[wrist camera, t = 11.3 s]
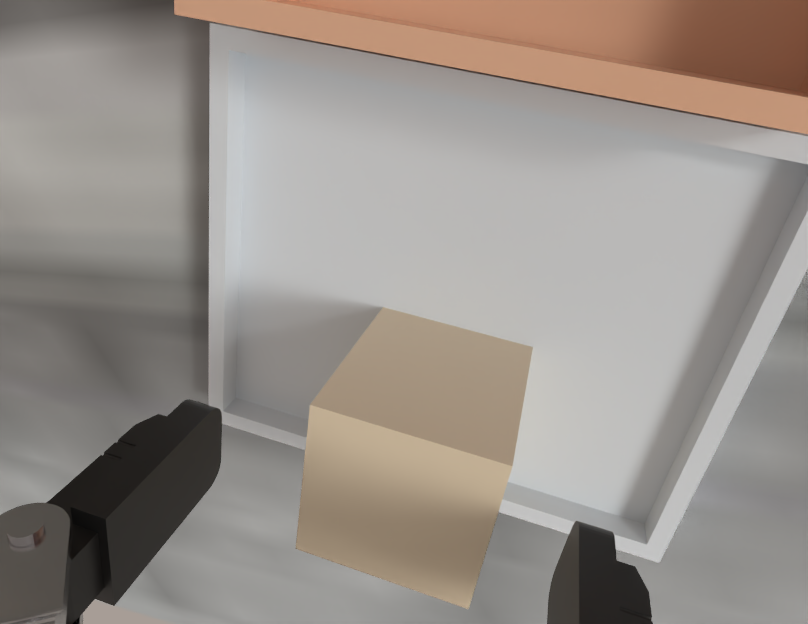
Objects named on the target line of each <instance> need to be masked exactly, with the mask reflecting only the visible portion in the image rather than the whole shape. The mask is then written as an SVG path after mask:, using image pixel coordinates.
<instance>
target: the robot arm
mask: <svg viewBox="0 0 808 624" xmlns="http://www.w3.org/2000/svg"><path fill="white" fill-rule="evenodd" d="M221 436H222V413H221V410H220V409H219V408H216V407H212V406H209V405H206V404H203V403H199V402H196V401H193V400H185V401H184V402H182V403H181V404H180V405H179V406H178V407H177V408H176V409H175V410H174V411H173V412H172V413H170V414H169V415H168V416H167V417H166V416H163V415H160V414H158V415H156V416H153V417H151V418H149V419H147V420H145V421H142V422H140V423H138V424H136V425H135V426H133V427H132V428H131V429H130V430H129V431H128V432H127V433H125V434H124V435H123V436H122V437H121V438H120V439H119V440H118V442H117V443H114V444H113V445H112V446H111V447H110V448H108V449H107V450H106V451H105V452H104V455H103V456H102V455H101V456H99V457H98V458H97V459H96V460H95V461H94V462H93V463H91V464H90V465H89V466H88V467H87V468H86V469H85V470H84V471H82V472H81V473H80V474H79V475H78V476H77V477H76V478H74V479H73V480H72V481H71V482H70V483H69V484H68V485H66V486H65V487H64V488H63V489H62V490H61V491H60V492H59V493H57V494H56V495H55V496H54V497H53V498H52V499H51V500H49V501H48V502H47V503H32V504H27V505H22V506H19V507H16V508H14V509H11V510H9V511H7V512H5V513H3V514H1V515H0V624H83V612H84V611H85V609H86V608H87V607H88V606H89V605H90V604H91V602H92V601H93V600H94V599H97V600H100V601H103V602H105V603H108V604H111V605H113V606H114V605H115V604H116V603H117V602H118V600H119V599H120V598H121V597H122V595H123V594H124V593H125V592H126V591H127V589H128V588H129V587H130V586H131V584H132V583H133V582H134V581H135V579H136V578H137V577H138V576H139V575H140V573H141V572H142V571H143V570H144V568H145V567H146V566H147V565H148V563H149V562H150V561H151V560H152V559H153V557H154V556H155V555H156V554H157V552H158V551H159V550H160V549H161V547H162V546H163V545H164V544H165V543H166V541H167V540H168V539H169V538H170V536H171V535H172V534H173V533H174V531H175V530H176V529H177V528H178V527H179V525H180V524H181V523H182V522H183V520H184V519H185V518H186V517H187V515H188V514H189V513H190V512H191V511H192V509H193V508H194V507H195V506H196V504H197V503H198V502H199V501H200V499H201V498H202V497H203V496H204V495H205V493H206V492H207V491H208V490H209V488H210V487H211V486H212V484H213V482H214V480H215V478H216V476H217V474H218V471H219V468H220V463H221ZM651 617H652V615H651V607H650V599H649V592H648V590H647V588H646V586H645V584H644V582H643V580H642V579H641V577H640V575H639V573H638V571H637V569H636V567H635V566H631V565H628V564H625V563H622V562H619V561H616V548H615V536H614V533H613V532H612V531H609V530H605V529H602V528H599V527H596V526H592V525H589V524H586V523H583V522H580V521H575V523H574V524H573V526H572V529H571V531H570V534H569V536H568V539H567V541H566V544H565V546H564V549H563V551H562V554H561V556H560V559H559V561H558V564H557V566H556V569H555V571H554V575H553V578H552V582H551V587H550V592H549V600H548V618H547V624H653V622H652V621H651Z"/></svg>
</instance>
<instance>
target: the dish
mask: <svg viewBox="0 0 808 624" xmlns="http://www.w3.org/2000/svg"><path fill="white" fill-rule="evenodd" d="M174 13H175V15H180V16H185V17H190V18H196V19H201V20H206V21H212V22H217V23H222V24H227V25H233V26H238V27H243V28H249V29H254V30H259V31H264V32H270V33H275V34H280V35H286V36H291V37H296V38H301V39H307V40H312V41H317V42H323V43H328V44H333V45H338V46H344V47H349V48H354V49H360V50H365V51H370V52H375V53H381V54H386V55H391V56H397V57H402V58H407V59H412V60H418V61H423V62H428V63H434V64H439V65H444V66H449V67H455V68H460V69H465V70H471V71H476V72H481V73H486V74H492V75H497V76H502V77H508V78H513V79H518V80H523V81H529V82H534V83H539V84H545V85H550V86H555V87H560V88H566V89H571V90H576V91H582V92H587V93H592V94H597V95H603V96H608V97H613V98H619V99H624V100H629V101H634V102H640V103H645V104H650V105H656V106H661V107H666V108H671V109H677V110H682V111H687V112H693V113H698V114H703V115H708V116H714V117H719V118H724V119H730V120H735V121H740V122H745V123H751V124H756V125H761V126H767V127H772V128H777V129H782V130H788V131H793V132H798V133H804V134H808V0H174Z"/></svg>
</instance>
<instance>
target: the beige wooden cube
mask: <svg viewBox="0 0 808 624" xmlns="http://www.w3.org/2000/svg"><path fill="white" fill-rule="evenodd" d="M532 350H533V347H531V346H527V345H523V344H519V343H516V342H512V341H508V340H504V339H501V338H497V337H493V336H489V335H486V334H482V333H478V332H475V331H471V330H467V329H463V328H460V327H456V326H452V325H448V324H445V323H441V322H437V321H433V320H430V319H426V318H422V317H418V316H415V315H411V314H407V313H403V312H400V311H396V310H392V309H388V308H385V307H383V308H382V309H381V310H380V312H379V313H378V314H377V316H376V317H375V319H374V320H373V321H372V323H371V324H370V325H369V327H368V328H367V329H366V331H365V332H364V333H363V335H362V336H361V337H360V339H359V340H358V341H357V343H356V344H355V345H354V347H353V348H352V349H351V351H350V352H349V353H348V355H347V356H346V357H345V359H344V360H343V361H342V363H341V364H340V365H339V367H338V368H337V369H336V371H335V372H334V373H333V375H332V376H331V377H330V379H329V380H328V381H327V383H326V384H325V385H324V387H323V388H322V389H321V391H320V392H319V393H318V395H317V396H316V397H315V399H314V400H313V401H312V403H311V404H310V409H309V419H308V429H307V439H306V449H305V459H304V470H303V480H302V490H301V500H300V510H299V520H298V530H297V540H296V549H298V550H301V551H304V552H307V553H310V554H312V555H315V556H318V557H321V558H324V559H327V560H330V561H332V562H335V563H338V564H341V565H344V566H347V567H350V568H352V569H355V570H358V571H361V572H364V573H367V574H369V575H372V576H375V577H378V578H381V579H384V580H387V581H389V582H392V583H395V584H398V585H401V586H404V587H407V588H409V589H412V590H415V591H418V592H421V593H424V594H427V595H429V596H432V597H435V598H438V599H441V600H444V601H446V602H449V603H452V604H455V605H458V606H461V607H464V608H466V609H469V606H470V603H471V599H472V596H473V593H474V590H475V586H476V583H477V580H478V577H479V573H480V570H481V567H482V564H483V560H484V557H485V554H486V551H487V548H488V544H489V541H490V538H491V535H492V531H493V528H494V525H495V522H496V518H497V515H498V512H499V509H500V505H501V502H502V499H503V496H504V492H505V489H506V486H507V483H508V479H509V476H510V473H511V470H512V466H513V461H514V455H515V449H516V443H517V437H518V431H519V426H520V420H521V414H522V408H523V402H524V396H525V390H526V385H527V379H528V373H529V367H530V361H531V355H532Z"/></svg>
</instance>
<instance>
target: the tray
mask: <svg viewBox="0 0 808 624" xmlns="http://www.w3.org/2000/svg"><path fill="white" fill-rule="evenodd" d="M807 269H808V134H804V133H798V132H793V131H788V130H782V129H777V128H772V127H767V126H761V125H756V124H751V123H745V122H740V121H735V120H730V119H724V118H719V117H714V116H708V115H703V114H698V113H693V112H687V111H682V110H677V109H671V108H666V107H661V106H656V105H650V104H645V103H640V102H634V101H629V100H624V99H619V98H613V97H608V96H603V95H597V94H592V93H587V92H582V91H576V90H571V89H566V88H560V87H555V86H550V85H545V84H539V83H534V82H529V81H523V80H518V79H513V78H508V77H502V76H497V75H492V74H486V73H481V72H476V71H471V70H465V69H460V68H455V67H449V66H444V65H439V64H434V63H428V62H423V61H418V60H412V59H407V58H402V57H397V56H391V55H386V54H381V53H375V52H370V51H365V50H360V49H354V48H349V47H344V46H338V45H333V44H328V43H323V42H317V41H312V40H307V39H301V38H296V37H291V36H286V35H280V34H275V33H270V32H264V31H259V30H254V29H249V28H243V27H238V26H233V25H227V24H222V23H210V83H209V387H208V405H209V406H212V407H216V408H219V409H220V410H221V413H222V424H224V425H227V426H231V427H234V428H237V429H240V430H243V431H246V432H249V433H253V434H256V435H259V436H262V437H265V438H268V439H271V440H275V441H278V442H281V443H284V444H287V445H290V446H293V447H296V448H300V449H303V450H305V449H306V439H307V429H308V419H309V409H310V404H311V403H312V401H313V400H314V399H315V397H316V396H317V395H318V393H319V392H320V391H321V389H322V388H323V387H324V385H325V384H326V383H327V381H328V380H329V379H330V377H331V376H332V375H333V373H334V372H335V371H336V369H337V368H338V367H339V365H340V364H341V363H342V361H343V360H344V359H345V357H346V356H347V355H348V353H349V352H350V351H351V349H352V348H353V347H354V345H355V344H356V343H357V341H358V340H359V339H360V337H361V336H362V335H363V333H364V332H365V331H366V329H367V328H368V327H369V325H370V324H371V323H372V321H373V320H374V319H375V317H376V316H377V314H378V313H379V312H380V310H381V309H382V308H383V307H385V308H388V309H392V310H396V311H400V312H403V313H407V314H411V315H415V316H418V317H422V318H426V319H430V320H433V321H437V322H441V323H445V324H448V325H452V326H456V327H460V328H463V329H467V330H471V331H475V332H478V333H482V334H486V335H489V336H493V337H497V338H501V339H504V340H508V341H512V342H516V343H519V344H523V345H527V346H531V347H533V350H532V355H531V361H530V367H529V373H528V379H527V385H526V390H525V396H524V402H523V408H522V414H521V420H520V426H519V431H518V437H517V443H516V449H515V455H514V461H513V466H512V470H511V473H510V476H509V479H508V483H507V486H506V489H505V492H504V496H503V499H502V502H501V505H500V509H499V512H500V513H504V514H507V515H510V516H513V517H516V518H519V519H522V520H526V521H529V522H532V523H535V524H538V525H541V526H544V527H547V528H551V529H554V530H557V531H560V532H563V533H566V534H570V531H571V529H572V526H573V524H574V523H575V521H580V522H583V523H586V524H589V525H592V526H596V527H599V528H602V529H605V530H609V531H612V532H613V533H614V536H615V548H616V550H620V551H623V552H626V553H629V554H632V555H635V556H638V557H642V558H645V559H648V560H651V561H654V562H657V563H660V561H661V559H662V557H663V555H664V553H665V551H666V549H667V547H668V545H669V543H670V541H671V539H672V537H673V535H674V533H675V531H676V529H677V527H678V525H679V523H680V521H681V519H682V517H683V515H684V513H685V511H686V509H687V507H688V505H689V503H690V501H691V499H692V497H693V495H694V493H695V491H696V489H697V487H698V485H699V483H700V481H701V479H702V477H703V475H704V473H705V471H706V469H707V467H708V465H709V463H710V461H711V459H712V458H713V456H714V454H715V452H716V450H717V448H718V446H719V444H720V442H721V440H722V438H723V436H724V434H725V432H726V430H727V428H728V426H729V424H730V422H731V420H732V418H733V416H734V414H735V412H736V410H737V408H738V406H739V404H740V402H741V400H742V398H743V396H744V394H745V392H746V390H747V388H748V386H749V384H750V382H751V380H752V378H753V376H754V374H755V372H756V370H757V368H758V366H759V364H760V362H761V360H762V358H763V356H764V354H765V352H766V350H767V348H768V346H769V344H770V342H771V340H772V338H773V336H774V334H775V333H776V331H777V329H778V327H779V325H780V323H781V321H782V319H783V317H784V315H785V313H786V311H787V309H788V307H789V305H790V303H791V301H792V299H793V297H794V295H795V293H796V291H797V289H798V287H799V285H800V283H801V281H802V279H803V277H804V275H805V273H806V271H807Z"/></svg>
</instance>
